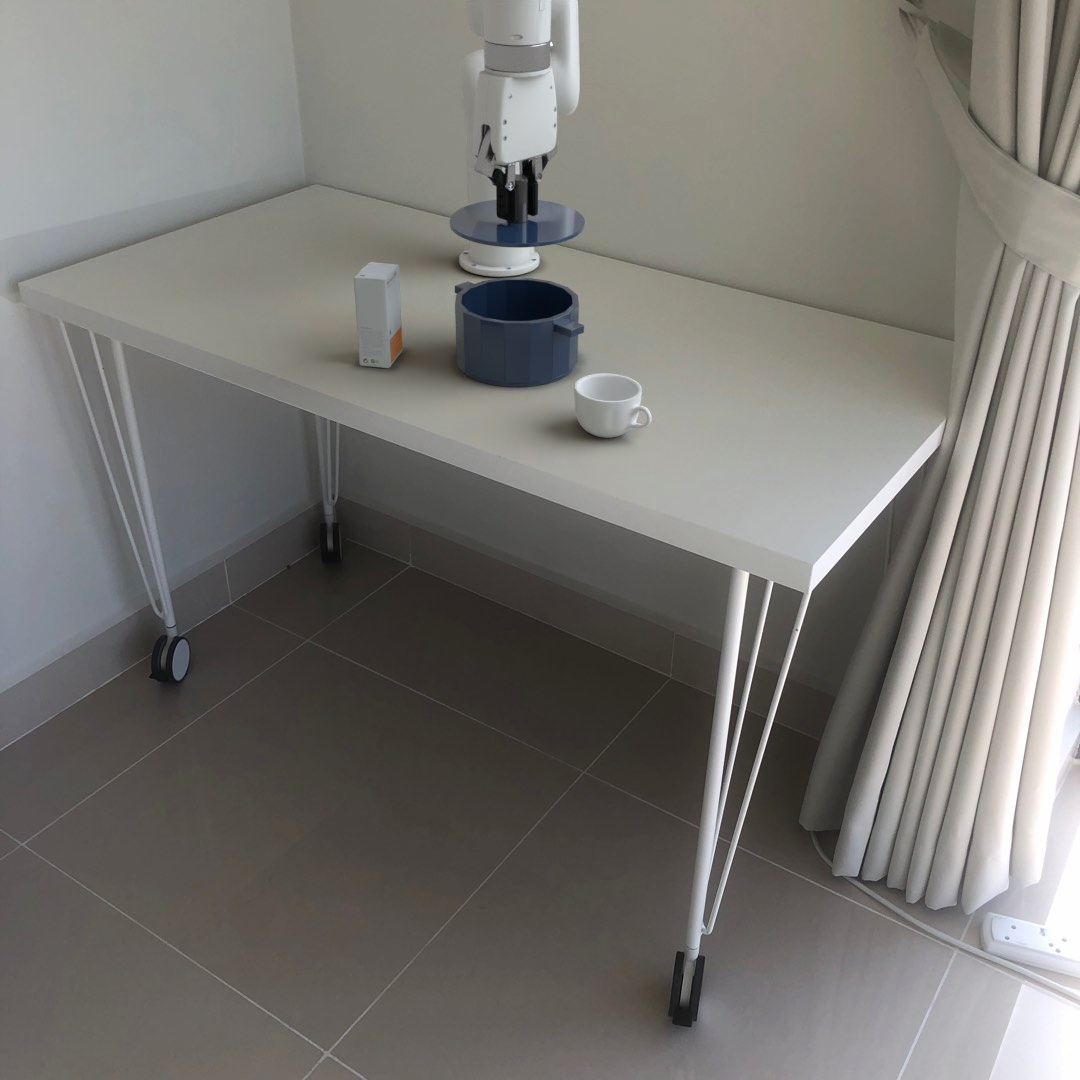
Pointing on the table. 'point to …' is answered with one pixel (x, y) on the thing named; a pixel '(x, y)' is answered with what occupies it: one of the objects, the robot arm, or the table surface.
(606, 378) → the teacup
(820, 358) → the table surface
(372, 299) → the cosmetic box
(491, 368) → the pot
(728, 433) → the table surface
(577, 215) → the pot lid
